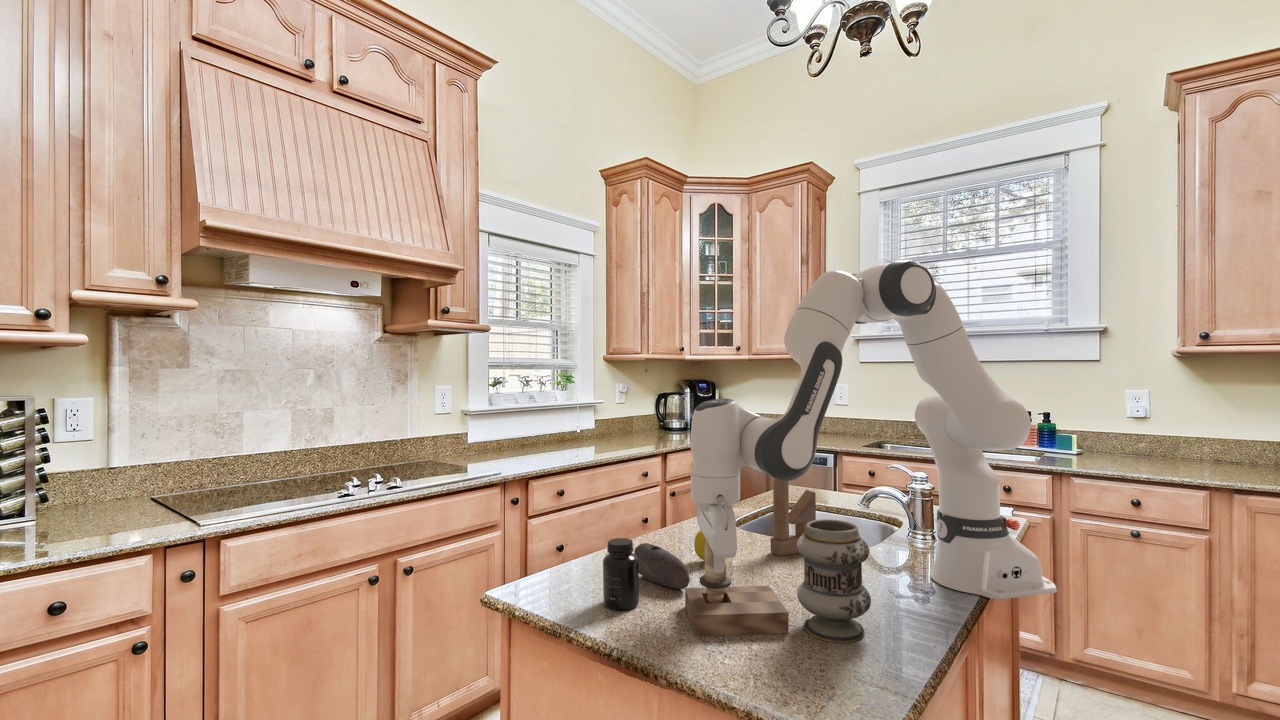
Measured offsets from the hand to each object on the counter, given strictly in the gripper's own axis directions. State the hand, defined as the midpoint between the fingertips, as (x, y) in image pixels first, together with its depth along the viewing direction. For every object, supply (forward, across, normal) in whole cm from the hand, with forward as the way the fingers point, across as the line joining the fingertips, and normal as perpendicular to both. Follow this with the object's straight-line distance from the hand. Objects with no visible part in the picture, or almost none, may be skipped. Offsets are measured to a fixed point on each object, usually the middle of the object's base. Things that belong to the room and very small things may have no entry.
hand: (715, 566), depth 108 cm
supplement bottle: (+9, +7, +17) cm, 21 cm away
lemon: (+9, +29, -3) cm, 31 cm away
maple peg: (+6, 0, 0) cm, 6 cm away
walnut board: (+9, -1, -3) cm, 10 cm away
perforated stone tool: (+10, +17, +8) cm, 21 cm away
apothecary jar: (+9, -6, -19) cm, 22 cm away
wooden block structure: (+9, +35, -25) cm, 44 cm away
